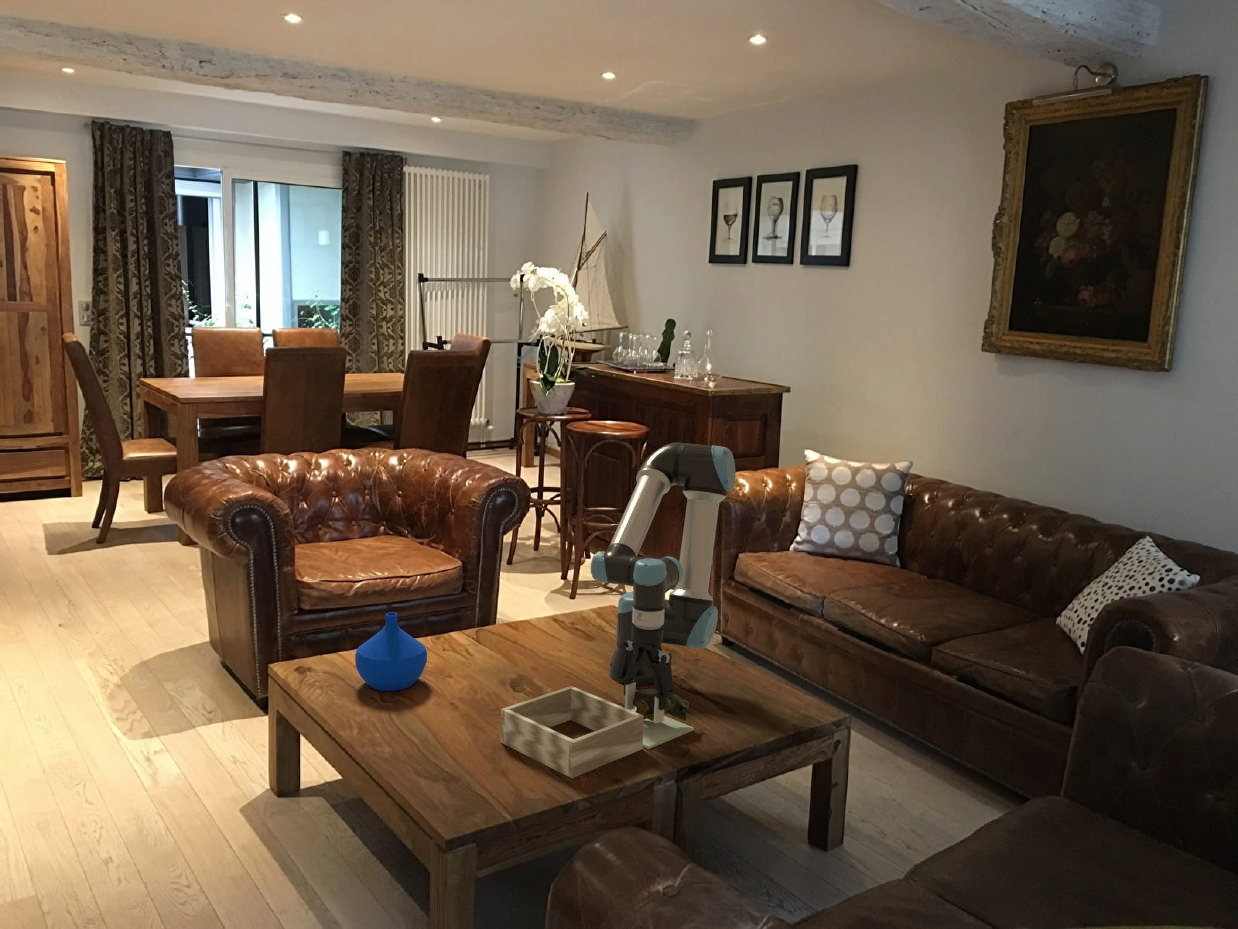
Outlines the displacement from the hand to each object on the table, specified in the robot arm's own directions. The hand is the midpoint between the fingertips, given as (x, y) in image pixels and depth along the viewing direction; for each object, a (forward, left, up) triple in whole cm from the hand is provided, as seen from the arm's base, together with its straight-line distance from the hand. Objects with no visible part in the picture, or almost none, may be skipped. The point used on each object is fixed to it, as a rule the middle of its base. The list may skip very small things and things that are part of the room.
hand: (643, 715), depth 244 cm
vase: (-62, -30, -3) cm, 69 cm away
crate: (-4, -20, -3) cm, 21 cm away
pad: (0, 0, -3) cm, 3 cm away
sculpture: (+2, 0, -3) cm, 3 cm away
